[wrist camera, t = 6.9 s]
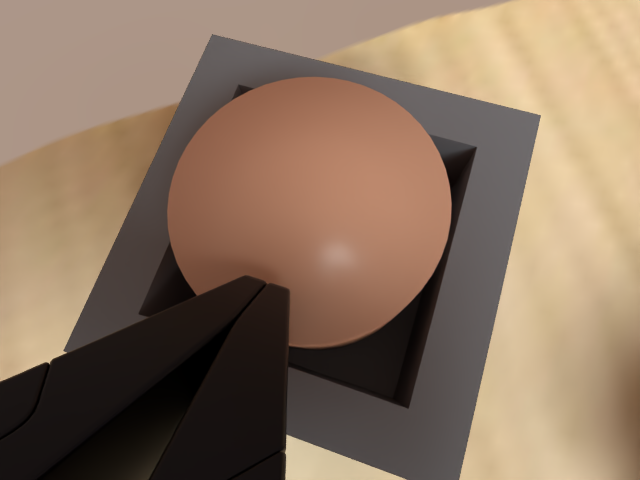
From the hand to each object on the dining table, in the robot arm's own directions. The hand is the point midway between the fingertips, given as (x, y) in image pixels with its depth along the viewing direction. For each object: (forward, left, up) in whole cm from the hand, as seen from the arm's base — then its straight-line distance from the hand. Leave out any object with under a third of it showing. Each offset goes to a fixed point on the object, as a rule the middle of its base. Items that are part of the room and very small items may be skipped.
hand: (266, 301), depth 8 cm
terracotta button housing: (+2, 0, -10) cm, 10 cm away
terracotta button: (+2, 0, -3) cm, 4 cm away
